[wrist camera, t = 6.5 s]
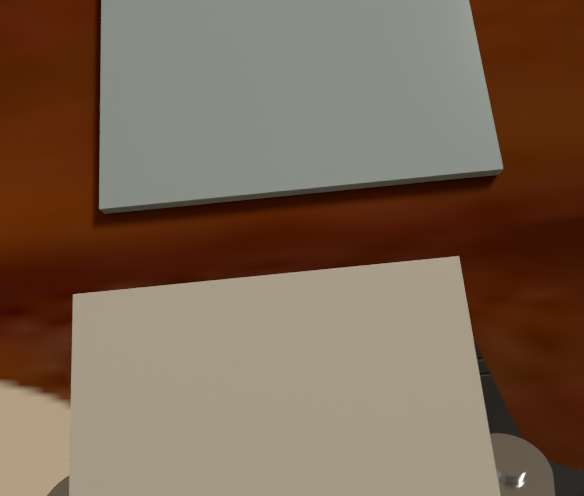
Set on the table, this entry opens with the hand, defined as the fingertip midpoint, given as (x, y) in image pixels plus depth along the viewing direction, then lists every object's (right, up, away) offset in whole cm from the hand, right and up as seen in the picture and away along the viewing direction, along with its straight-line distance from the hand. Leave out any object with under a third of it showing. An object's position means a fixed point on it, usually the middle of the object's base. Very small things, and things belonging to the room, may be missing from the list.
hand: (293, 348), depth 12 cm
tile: (0, +12, +10) cm, 16 cm away
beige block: (0, -3, +4) cm, 5 cm away
